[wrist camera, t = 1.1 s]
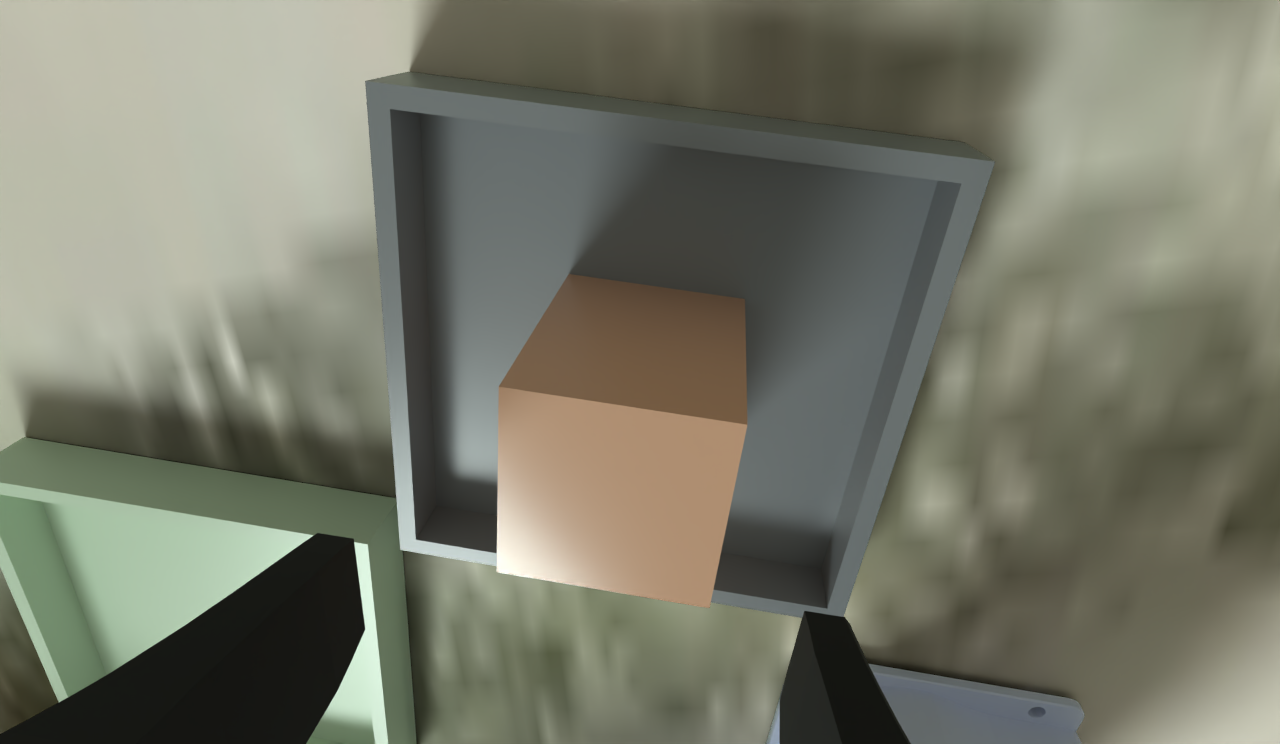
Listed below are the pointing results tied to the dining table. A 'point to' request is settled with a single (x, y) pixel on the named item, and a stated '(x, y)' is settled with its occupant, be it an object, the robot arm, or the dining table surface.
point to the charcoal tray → (671, 258)
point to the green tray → (188, 566)
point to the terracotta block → (623, 440)
